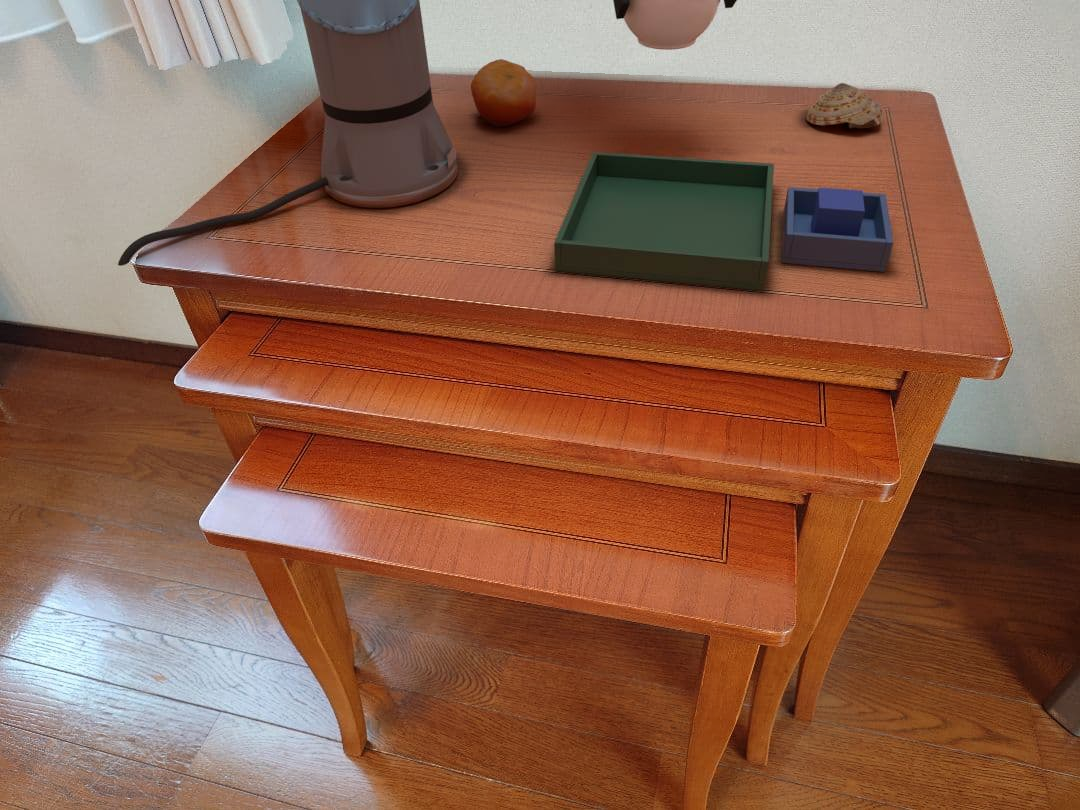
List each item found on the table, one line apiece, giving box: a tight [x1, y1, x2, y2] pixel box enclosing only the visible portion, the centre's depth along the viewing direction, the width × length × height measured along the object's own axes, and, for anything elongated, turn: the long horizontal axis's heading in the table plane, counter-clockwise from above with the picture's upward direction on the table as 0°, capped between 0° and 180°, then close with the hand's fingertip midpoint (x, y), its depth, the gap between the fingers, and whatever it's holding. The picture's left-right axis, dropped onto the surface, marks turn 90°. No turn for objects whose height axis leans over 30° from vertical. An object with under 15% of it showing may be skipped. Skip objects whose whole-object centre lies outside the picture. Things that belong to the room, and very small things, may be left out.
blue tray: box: [781, 186, 894, 273], centre depth 76 cm, size 9×9×3 cm
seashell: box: [805, 82, 884, 129], centre depth 97 cm, size 8×6×8 cm
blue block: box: [811, 187, 865, 237], centre depth 76 cm, size 4×4×4 cm
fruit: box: [470, 58, 537, 128], centre depth 100 cm, size 8×8×8 cm
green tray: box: [553, 151, 775, 292], centre depth 80 cm, size 19×19×3 cm
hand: (678, 6), depth 79 cm, fingers closed on trinket box, 11 cm apart
